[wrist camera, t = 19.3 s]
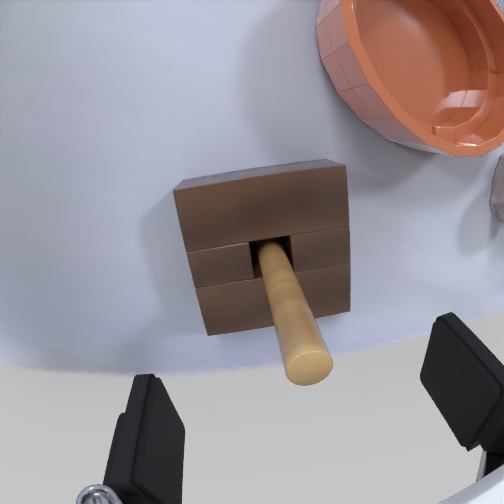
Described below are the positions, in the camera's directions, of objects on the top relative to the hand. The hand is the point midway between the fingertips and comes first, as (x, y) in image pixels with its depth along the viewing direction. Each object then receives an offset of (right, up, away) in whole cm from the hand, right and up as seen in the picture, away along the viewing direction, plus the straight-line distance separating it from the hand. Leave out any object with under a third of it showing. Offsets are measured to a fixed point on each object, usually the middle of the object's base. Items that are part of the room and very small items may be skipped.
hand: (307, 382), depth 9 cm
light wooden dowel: (-1, +5, +14) cm, 15 cm away
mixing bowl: (+11, +20, +9) cm, 25 cm away
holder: (-1, +5, +14) cm, 15 cm away
